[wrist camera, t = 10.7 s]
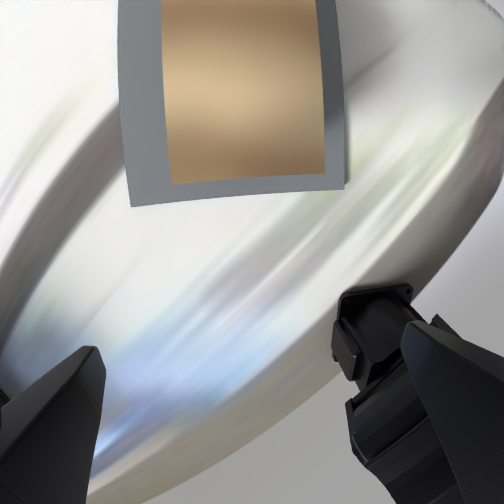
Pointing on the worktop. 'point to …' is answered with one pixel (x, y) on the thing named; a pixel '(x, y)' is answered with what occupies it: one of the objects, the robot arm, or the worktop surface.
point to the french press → (3, 399)
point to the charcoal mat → (154, 121)
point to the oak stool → (242, 89)
